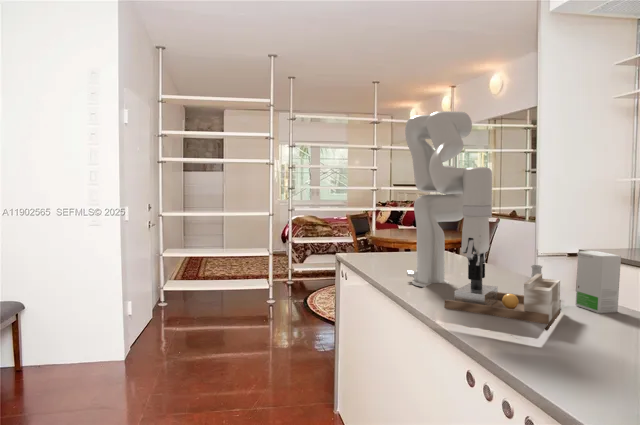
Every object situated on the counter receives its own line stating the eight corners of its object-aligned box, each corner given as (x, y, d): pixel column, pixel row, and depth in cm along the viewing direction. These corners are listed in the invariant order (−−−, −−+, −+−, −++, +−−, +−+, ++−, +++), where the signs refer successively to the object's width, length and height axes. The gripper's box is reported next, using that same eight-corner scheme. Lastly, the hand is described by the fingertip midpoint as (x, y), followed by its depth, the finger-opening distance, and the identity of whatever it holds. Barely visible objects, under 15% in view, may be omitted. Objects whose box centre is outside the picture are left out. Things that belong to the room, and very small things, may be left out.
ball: (500, 309, 115) (500, 294, 115) (504, 305, 118) (504, 291, 118) (516, 311, 112) (516, 296, 112) (520, 308, 116) (520, 293, 115)
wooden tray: (444, 313, 117) (444, 275, 116) (466, 299, 131) (467, 266, 131) (547, 330, 102) (548, 287, 101) (560, 312, 116) (560, 275, 116)
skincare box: (574, 306, 123) (575, 251, 122) (594, 304, 124) (595, 250, 124) (600, 314, 115) (601, 255, 114) (620, 312, 116) (621, 254, 115)
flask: (553, 301, 128) (553, 267, 128) (526, 300, 130) (527, 267, 129) (545, 295, 135) (545, 263, 135) (520, 295, 137) (520, 263, 136)
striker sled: (454, 305, 118) (454, 258, 118) (469, 296, 128) (469, 252, 127) (484, 310, 113) (485, 260, 113) (497, 300, 123) (497, 255, 122)
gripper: (473, 210, 128) (472, 272, 129) (452, 213, 115) (452, 282, 116) (499, 211, 124) (499, 275, 124) (481, 214, 111) (481, 285, 111)
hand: (476, 277), depth 120 cm, fingers closed on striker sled, 3 cm apart
